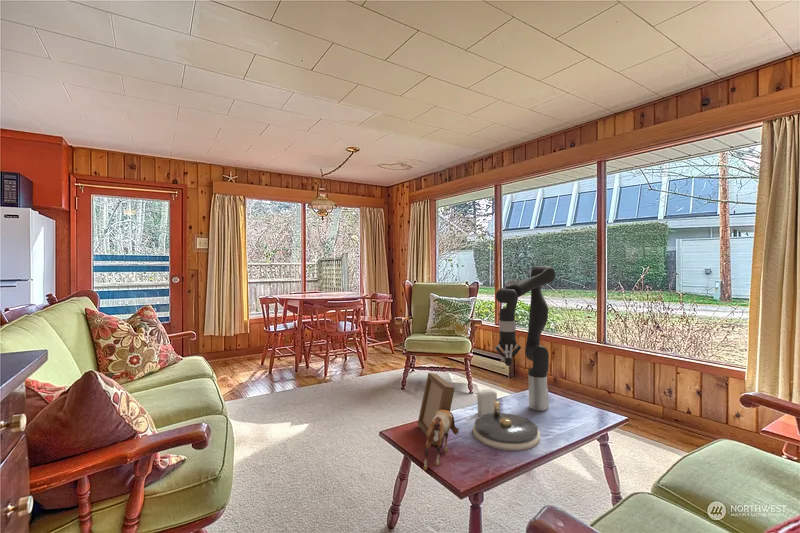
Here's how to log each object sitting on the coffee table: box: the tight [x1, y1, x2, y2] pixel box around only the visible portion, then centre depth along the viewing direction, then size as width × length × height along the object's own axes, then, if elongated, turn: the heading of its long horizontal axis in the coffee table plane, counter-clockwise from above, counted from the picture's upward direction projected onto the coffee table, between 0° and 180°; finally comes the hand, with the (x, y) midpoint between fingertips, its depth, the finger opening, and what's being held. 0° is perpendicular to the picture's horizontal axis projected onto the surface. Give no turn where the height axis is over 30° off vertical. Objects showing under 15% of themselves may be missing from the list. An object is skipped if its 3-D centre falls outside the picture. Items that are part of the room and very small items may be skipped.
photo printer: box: [476, 388, 498, 416], centre depth 189 cm, size 10×4×12 cm, turn 104°
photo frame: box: [417, 372, 455, 447], centre depth 167 cm, size 15×22×25 cm
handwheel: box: [474, 400, 539, 443], centre depth 165 cm, size 27×27×8 cm
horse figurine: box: [422, 410, 460, 471], centre depth 146 cm, size 31×8×21 cm, turn 155°
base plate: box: [472, 422, 541, 451], centre depth 165 cm, size 29×29×2 cm
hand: (508, 365), depth 180 cm, fingers closed
